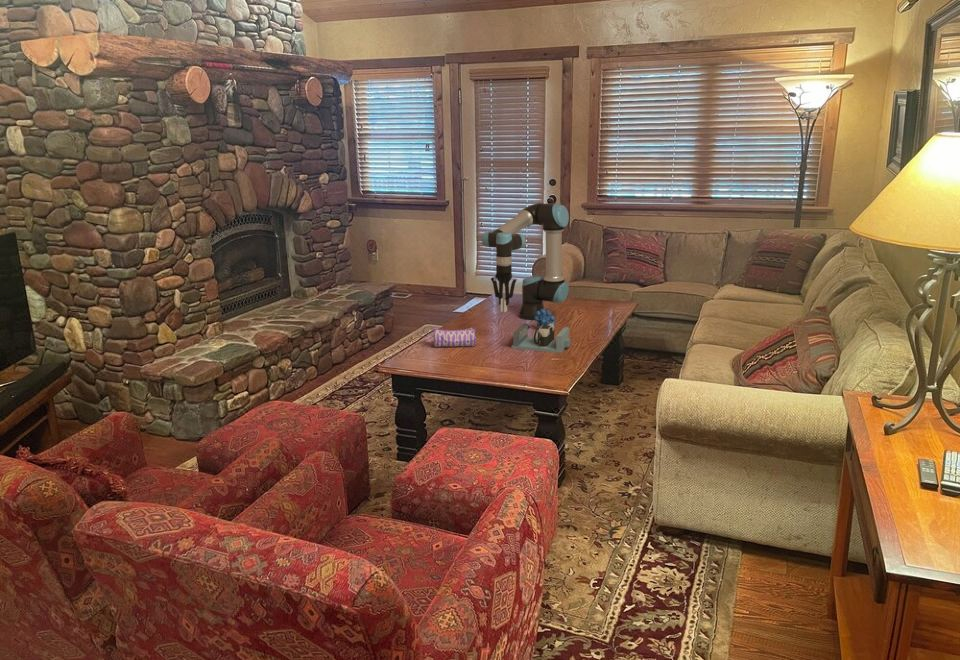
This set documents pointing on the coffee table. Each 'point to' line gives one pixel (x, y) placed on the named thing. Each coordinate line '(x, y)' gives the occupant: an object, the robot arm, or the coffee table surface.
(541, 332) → the camera
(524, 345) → the vise
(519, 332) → the sliding jaw
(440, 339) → the pencil case
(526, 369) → the coffee table surface
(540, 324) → the blue knobbly thick disc
